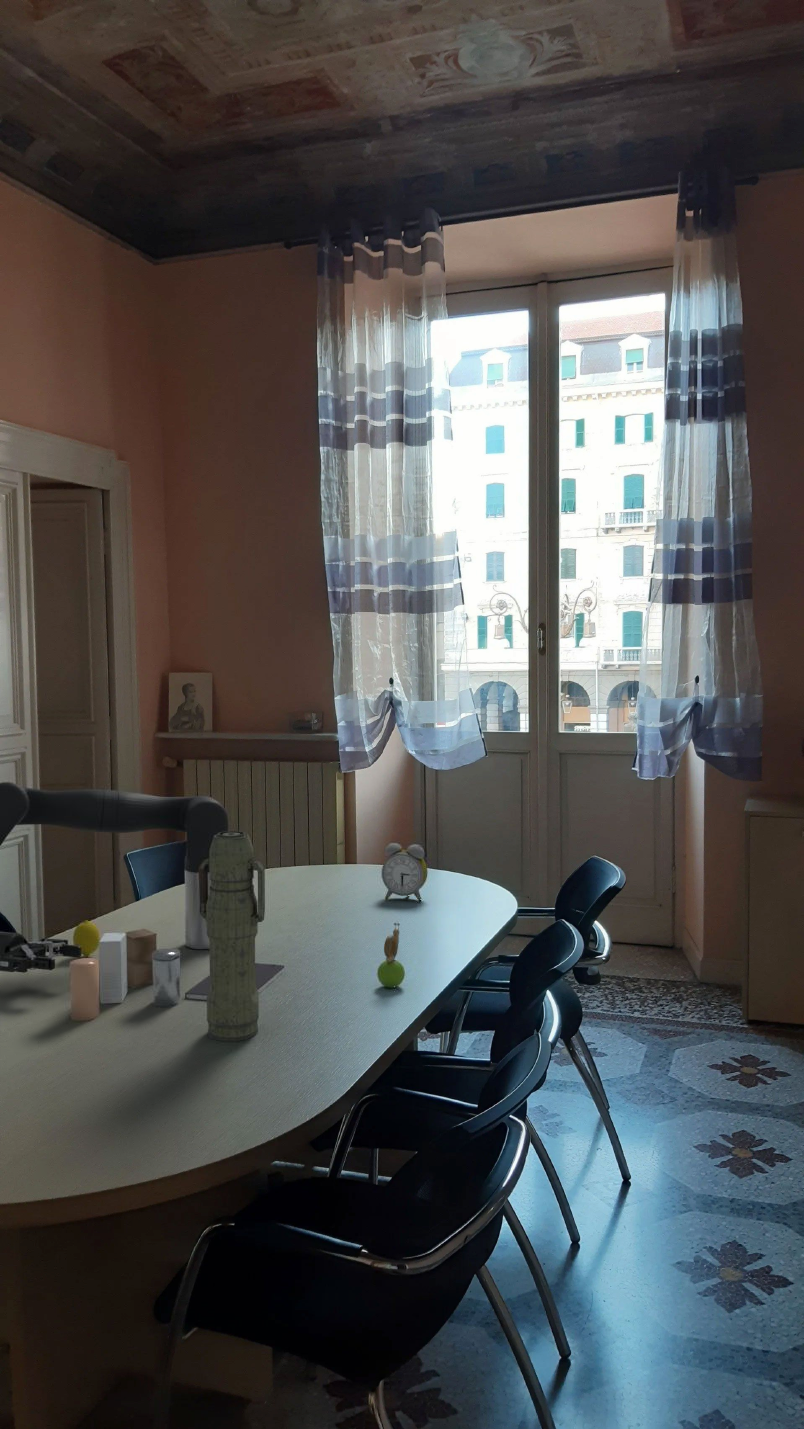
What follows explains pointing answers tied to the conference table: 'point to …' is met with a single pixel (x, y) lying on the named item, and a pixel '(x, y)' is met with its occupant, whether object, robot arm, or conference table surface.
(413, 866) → the alarm clock
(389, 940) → the snail figurine
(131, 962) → the walnut block
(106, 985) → the skincare box
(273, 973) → the notebook
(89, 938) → the lemon
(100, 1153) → the conference table surface
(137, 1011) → the conference table surface
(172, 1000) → the grey tin
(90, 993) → the peach rounded cylinder
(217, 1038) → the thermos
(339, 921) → the conference table surface
